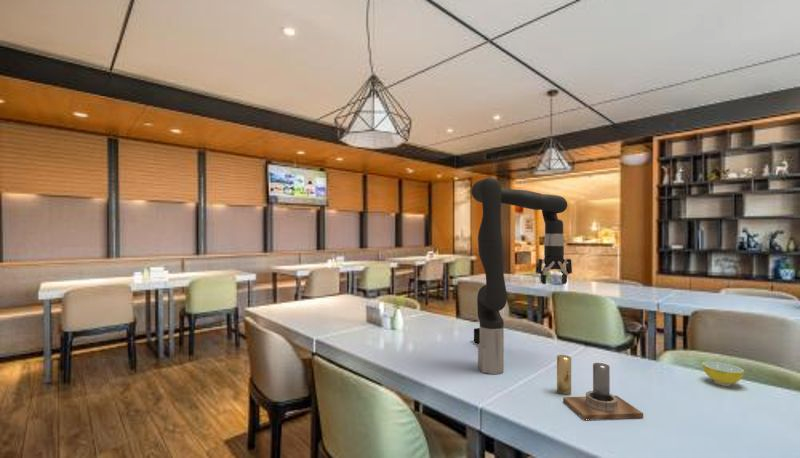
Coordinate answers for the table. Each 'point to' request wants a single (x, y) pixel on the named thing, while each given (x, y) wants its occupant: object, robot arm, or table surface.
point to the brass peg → (564, 374)
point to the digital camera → (477, 335)
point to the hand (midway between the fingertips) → (553, 283)
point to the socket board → (602, 414)
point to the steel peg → (601, 382)
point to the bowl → (723, 373)
